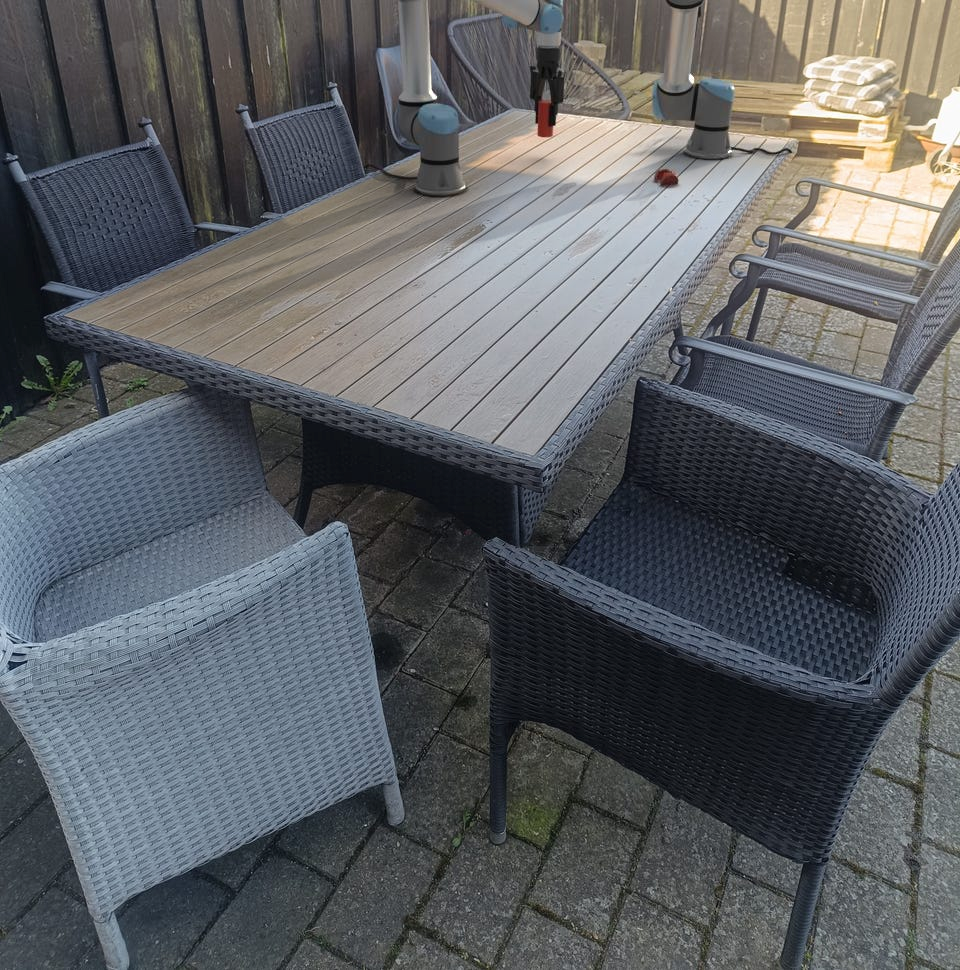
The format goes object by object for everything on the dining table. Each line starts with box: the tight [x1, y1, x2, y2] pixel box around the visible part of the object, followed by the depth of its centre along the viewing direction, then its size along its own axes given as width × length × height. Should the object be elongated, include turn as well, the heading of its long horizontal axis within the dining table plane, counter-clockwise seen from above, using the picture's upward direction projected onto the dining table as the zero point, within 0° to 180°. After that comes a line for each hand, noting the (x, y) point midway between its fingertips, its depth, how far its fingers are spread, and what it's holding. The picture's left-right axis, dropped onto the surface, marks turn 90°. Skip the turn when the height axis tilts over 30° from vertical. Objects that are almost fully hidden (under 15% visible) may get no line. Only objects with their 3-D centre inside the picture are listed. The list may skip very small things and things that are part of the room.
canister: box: [537, 99, 554, 138], centre depth 278 cm, size 5×5×11 cm
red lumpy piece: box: [653, 168, 679, 187], centre depth 263 cm, size 6×4×8 cm
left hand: (545, 124), depth 279 cm, fingers closed on canister, 5 cm apart
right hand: (685, 36), depth 300 cm, fingers open, 13 cm apart
